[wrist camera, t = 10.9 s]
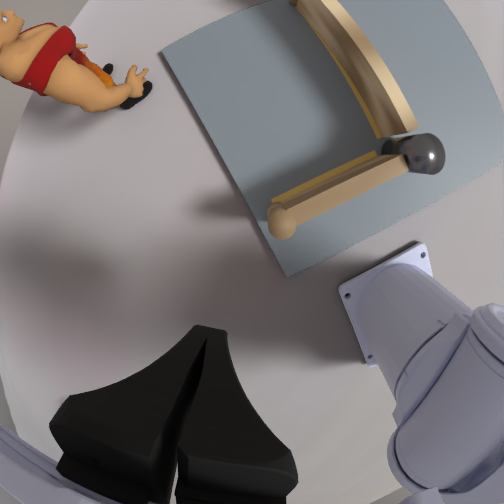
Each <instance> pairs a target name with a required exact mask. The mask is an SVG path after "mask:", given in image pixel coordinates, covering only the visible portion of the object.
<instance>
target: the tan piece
mask: <svg viewBox="0 0 504 504" xmlns="http://www.w3.org/2000/svg"><path fill="white" fill-rule="evenodd" d="M289 2H290V4H292V5H293V6H296V7H297V8H298V9H299V10H300V11H301V13H302V14H303V15H304V16H305V17H306V18H307V20H308V21H309V22H310V23H311V25H312V26H313V27H314V28H315V30H316V31H317V32H318V33H319V35H320V36H321V37H322V39H323V40H324V41H325V43H326V44H327V45H328V47H329V48H330V49H331V51H332V52H333V54H334V55H335V56H336V58H337V59H338V61H339V62H340V64H341V65H342V67H343V68H344V70H345V71H346V73H347V74H348V76H349V77H350V79H351V80H352V82H353V84H354V85H355V87H356V89H357V90H358V92H359V94H360V95H361V97H362V99H363V100H364V102H365V104H366V106H367V107H368V109H369V111H370V113H371V115H372V117H373V118H374V120H375V122H376V124H377V126H378V128H379V130H380V132H381V134H382V136H383V138H384V137H389V136H394V135H400V134H405V133H409V132H411V131H413V130H415V129H417V128H420V127H419V125H418V123H417V121H416V119H415V117H414V115H413V113H412V111H411V109H410V107H409V105H408V103H407V101H406V99H405V97H404V95H403V93H402V92H401V90H400V88H399V86H398V84H397V83H396V81H395V79H394V78H393V76H392V74H391V73H390V71H389V69H388V68H387V66H386V65H385V63H384V61H383V60H382V58H381V57H380V55H379V54H378V52H377V51H376V49H375V48H374V47H373V45H372V44H371V42H370V41H369V39H368V38H367V37H366V35H365V34H364V33H363V31H362V30H361V29H360V27H359V26H358V25H357V24H356V22H355V21H354V20H353V19H352V17H351V16H350V15H349V14H348V12H347V11H346V10H345V9H344V8H343V7H342V5H341V4H340V3H339V2H338V1H337V0H289Z"/></svg>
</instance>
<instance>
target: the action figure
mask: <svg viewBox="0 0 504 504" xmlns="http://www.w3.org/2000/svg"><path fill="white" fill-rule="evenodd" d="M23 25H24V19H21V18H19V17H18V16H15V15H14V10H10V11H0V75H1V76H2V77H3V78H5V79H7V80H9V81H11V82H12V83H13V84H16V85H19V86H22V87H25V88H28V89H31V90H34V91H36V92H37V93H38V94H39V95H40V96H51V97H52V98H54V99H55V100H58V101H61V102H64V103H69V104H73V105H77V106H80V107H81V108H82V109H83V110H85V111H89V112H99V111H107V110H110V109H112V108H114V107H116V106H118V105H120V107H121V108H123V109H130V108H131V107H133V106H134V105H135V104H137V103H138V102H140V101H141V100H143V99H144V98H145V97H146V96H147V95H148V94H149V93H150V91H151V90H152V83H151V82H150V81H146V78H143V77H144V76H145V74H146V73H147V72H148V68H145V69H143V71H142V72H141V73H140V74H138V75H135V73H136V70H137V66H136V65H133V66H132V67H131V68H130V69H129V71H128V74H127V77H126V80H125V84H120V85H115V83H114V82H113V80H112V77H111V76H110V74H111V73H112V71H113V65H112V64H110V63H109V64H107V65H105V66H104V68H103V70H102V69H101V68H100V67H99V66H98V65H96V64H95V63H92V62H90V61H89V59H88V58H87V57H86V56H85V54H86V53H85V52H82V51H80V50H79V49H82V48H87V47H88V45H87V44H84V45H81V44H76V37H75V35H74V34H73V32H72V30H71V29H69V28H68V27H66V26H62V27H58V26H56V25H55V24H54V23H45V24H41V25H38V26H35V27H32V28H29V29H27V30H25V31H23V32H21V33H20V31H21V29H22V27H23Z"/></svg>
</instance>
